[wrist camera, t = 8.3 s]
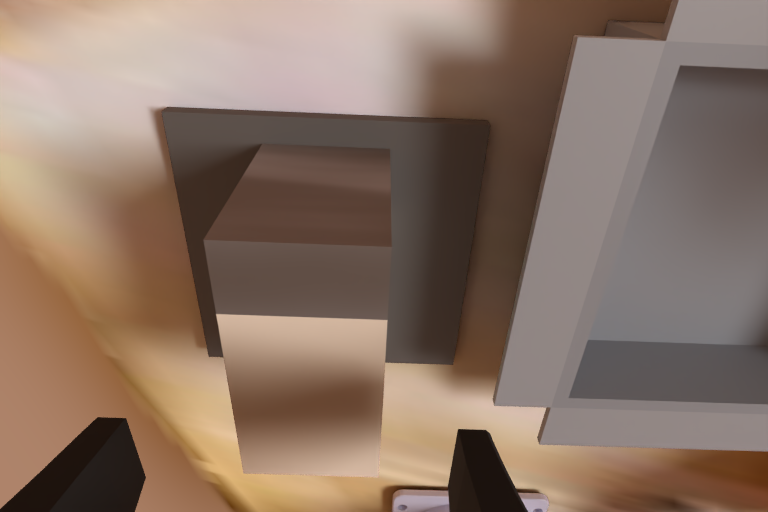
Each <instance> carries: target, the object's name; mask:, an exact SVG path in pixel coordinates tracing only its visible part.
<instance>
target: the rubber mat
mask: <svg viewBox="0 0 768 512" xmlns="http://www.w3.org/2000/svg"><path fill="white" fill-rule="evenodd" d="M162 117H163V122H164V127H165V132H166V138H167V143H168V148H169V153H170V158H171V163H172V169H173V174H174V179H175V184H176V189H177V195H178V200H179V205H180V210H181V215H182V220H183V226H184V231H185V236H186V241H187V246H188V251H189V257H190V262H191V267H192V272H193V277H194V282H195V288H196V293H197V298H198V303H199V308H200V313H201V319H202V324H203V329H204V334H205V339H206V344H207V350H208V355H209V357H223V351H222V345H221V339H220V334H219V328H218V322H217V316H216V310H215V305H214V299H213V293H212V287H211V281H210V276H209V270H208V264H207V258H206V252H205V247H204V241H203V240H204V238H205V236H206V235H207V233H208V232H209V230H210V228H211V227H212V225H213V223H214V222H215V220H216V219H217V217H218V215H219V214H220V212H221V210H222V209H223V207H224V206H225V204H226V202H227V201H228V199H229V197H230V196H231V194H232V193H233V191H234V189H235V188H236V186H237V184H238V183H239V181H240V179H241V178H242V176H243V175H244V173H245V171H246V170H247V168H248V166H249V165H250V163H251V162H252V160H253V158H254V157H255V155H256V153H257V152H258V150H259V149H260V147H261V145H262V144H284V145H309V146H333V147H358V148H382V149H390V171H391V235H392V250H391V268H390V285H389V303H388V321H387V338H386V356H385V362H387V363H417V364H447V365H453V362H454V356H455V349H456V343H457V337H458V330H459V324H460V317H461V311H462V304H463V298H464V291H465V285H466V278H467V272H468V265H469V259H470V252H471V246H472V239H473V233H474V227H475V220H476V214H477V207H478V201H479V194H480V188H481V181H482V175H483V168H484V162H485V155H486V149H487V142H488V136H489V129H490V124H489V122H488V121H487V120H464V119H440V118H416V117H393V116H369V115H345V114H321V113H297V112H273V111H249V110H226V109H202V108H178V107H167V108H166V109H164V110H163V111H162Z"/></svg>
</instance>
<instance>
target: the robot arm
mask: <svg viewBox="0 0 768 512" xmlns="http://www.w3.org/2000/svg"><path fill="white" fill-rule="evenodd" d="M145 478H146V477H145V474H144V471H143V468H142V465H141V462H140V459H139V456H138V453H137V450H136V447H135V444H134V441H133V438H132V435H131V432H130V429H129V426H128V423H127V420H126V418H101V417H98V418H97V419H95V420H94V421H93V422H92V423H91V424H90V425H89V426H88V427H87V428H86V429H85V430H84V431H82V433H81V434H79V435H78V436H77V437H76V438H75V439H74V440H73V441H72V442H71V443H70V444H69V445H68V446H67V447H66V448H65V449H64V450H63V451H62V452H61V453H59V454H58V455H57V457H55V458H54V459H53V460H52V461H51V462H50V463H49V464H48V465H47V466H46V467H45V468H44V469H43V470H42V471H41V472H40V473H39V474H37V475H36V476H35V477H34V478H33V479H32V480H31V481H30V482H29V483H28V484H27V485H26V486H25V487H24V488H23V489H21V490H20V491H19V492H18V493H17V494H16V495H15V496H14V497H13V498H12V499H11V500H10V501H8V502H7V503H6V504H5V505H4V506H3V507H2V508H1V509H0V512H135V509H136V506H137V503H138V500H139V497H140V493H141V491H142V488H143V484H144V481H145ZM548 506H549V501H548V498H547V496H546V495H544V494H540V493H518V492H517V490H516V488H515V486H514V484H513V482H512V480H511V478H510V476H509V474H508V472H507V470H506V468H505V466H504V464H503V462H502V460H501V458H500V456H499V453H498V451H497V449H496V447H495V445H494V442H493V440H492V437H491V435H490V433H489V432H487V431H486V430H467V429H458V433H457V438H456V444H455V450H454V455H453V461H452V467H451V472H450V478H449V484H448V491H442V490H408V489H402V490H397V491H396V492H395V493H394V494H393V501H392V512H547V509H548Z"/></svg>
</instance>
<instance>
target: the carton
mask: <svg viewBox="0 0 768 512" xmlns="http://www.w3.org/2000/svg"><path fill="white" fill-rule="evenodd" d="M493 402H494V406H519V407H547V408H546V411H545V414H544V418H543V421H542V424H541V427H540V431H539V434H538V437H537V438H538V442H539V444H540V445H573V446H605V447H638V448H670V449H703V450H735V451H768V0H672V1H671V5H670V8H669V11H668V14H667V18H666V21H665V23H654V22H632V21H610V20H608V23H607V27H606V31H605V35H604V36H584V35H574V36H573V41H572V45H571V50H570V54H569V59H568V63H567V68H566V72H565V77H564V81H563V86H562V90H561V95H560V99H559V104H558V108H557V113H556V117H555V122H554V126H553V131H552V135H551V140H550V144H549V149H548V153H547V158H546V162H545V167H544V171H543V176H542V180H541V185H540V189H539V194H538V198H537V203H536V207H535V212H534V216H533V221H532V225H531V230H530V234H529V239H528V243H527V248H526V252H525V257H524V261H523V266H522V270H521V275H520V279H519V284H518V288H517V293H516V297H515V302H514V306H513V311H512V315H511V320H510V324H509V329H508V333H507V338H506V342H505V347H504V351H503V356H502V360H501V365H500V369H499V373H498V378H497V382H496V387H495V391H494V396H493Z"/></svg>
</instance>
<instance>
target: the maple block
mask: <svg viewBox="0 0 768 512" xmlns="http://www.w3.org/2000/svg"><path fill="white" fill-rule="evenodd" d="M203 241H204V247H205V252H206V258H207V264H208V270H209V276H210V281H211V287H212V293H213V299H214V305H215V310H216V316H217V322H218V328H219V334H220V339H221V345H222V351H223V357H224V363H225V368H226V374H227V380H228V386H229V392H230V397H231V403H232V409H233V415H234V420H235V426H236V432H237V438H238V444H239V449H240V455H241V461H242V467H243V473H249V474H283V475H317V476H351V477H379V461H380V443H381V426H382V408H383V391H384V373H385V356H386V338H387V321H388V303H389V285H390V268H391V250H392V235H391V171H390V149H382V148H358V147H333V146H309V145H284V144H262V145H261V147H260V149H259V150H258V152H257V153H256V155H255V157H254V158H253V160H252V162H251V163H250V165H249V166H248V168H247V170H246V171H245V173H244V175H243V176H242V178H241V179H240V181H239V183H238V184H237V186H236V188H235V189H234V191H233V193H232V194H231V196H230V197H229V199H228V201H227V202H226V204H225V206H224V207H223V209H222V210H221V212H220V214H219V215H218V217H217V219H216V220H215V222H214V223H213V225H212V227H211V228H210V230H209V232H208V233H207V235H206V236H205V238H204V240H203Z"/></svg>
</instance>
